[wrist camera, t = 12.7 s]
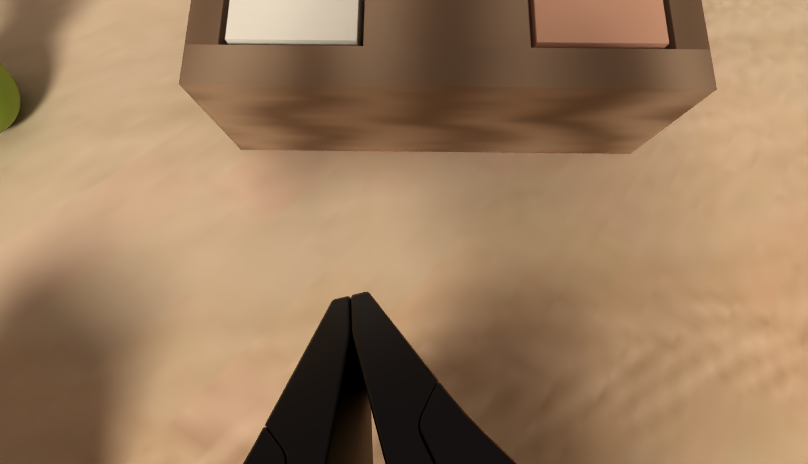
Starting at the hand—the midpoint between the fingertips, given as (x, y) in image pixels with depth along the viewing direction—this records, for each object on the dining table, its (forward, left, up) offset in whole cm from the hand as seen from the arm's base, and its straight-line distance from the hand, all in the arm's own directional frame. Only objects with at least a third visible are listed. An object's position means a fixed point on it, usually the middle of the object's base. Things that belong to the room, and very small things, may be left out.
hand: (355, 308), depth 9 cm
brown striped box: (+7, -14, -14) cm, 21 cm away
